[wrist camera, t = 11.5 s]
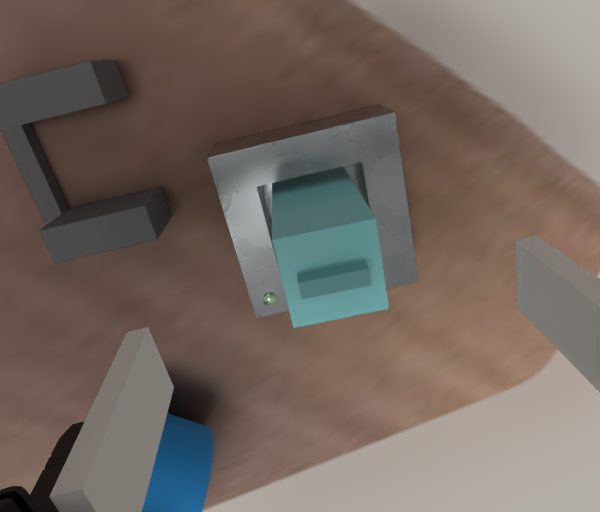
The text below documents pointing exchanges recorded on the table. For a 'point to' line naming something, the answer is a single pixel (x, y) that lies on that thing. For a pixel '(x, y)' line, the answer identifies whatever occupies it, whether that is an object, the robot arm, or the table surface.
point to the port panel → (302, 161)
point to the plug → (326, 248)
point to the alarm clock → (181, 467)
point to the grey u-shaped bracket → (38, 176)
